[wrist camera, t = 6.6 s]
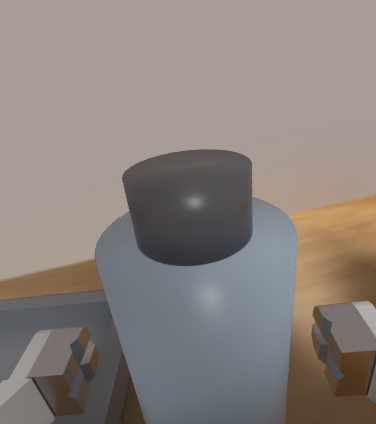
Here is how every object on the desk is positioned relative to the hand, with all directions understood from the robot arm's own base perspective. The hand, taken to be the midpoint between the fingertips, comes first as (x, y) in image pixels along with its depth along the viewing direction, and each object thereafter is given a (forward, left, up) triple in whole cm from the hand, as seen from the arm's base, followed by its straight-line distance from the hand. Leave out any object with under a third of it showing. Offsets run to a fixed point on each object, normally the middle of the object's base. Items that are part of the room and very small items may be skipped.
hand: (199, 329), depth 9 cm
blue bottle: (0, -1, -7) cm, 7 cm away
